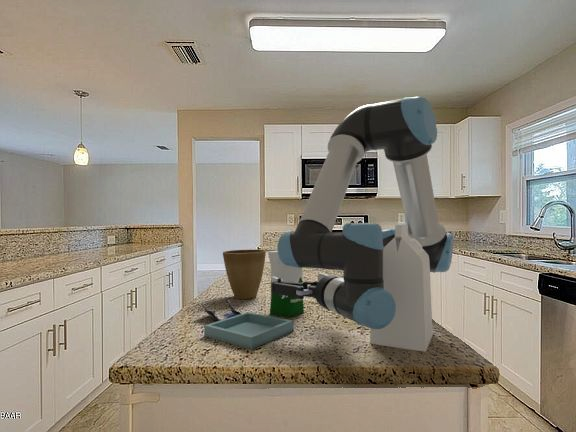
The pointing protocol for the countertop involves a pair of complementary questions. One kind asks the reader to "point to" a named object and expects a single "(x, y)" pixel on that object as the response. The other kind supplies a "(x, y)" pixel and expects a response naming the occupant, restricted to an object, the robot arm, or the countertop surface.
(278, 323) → the tray
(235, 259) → the plant pot
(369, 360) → the countertop surface
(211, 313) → the snack package
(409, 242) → the milk
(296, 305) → the milk carton
